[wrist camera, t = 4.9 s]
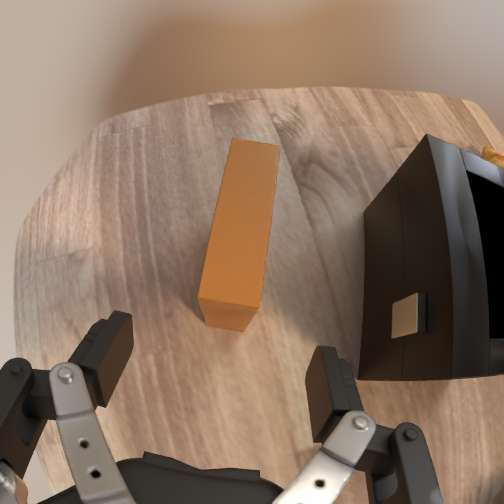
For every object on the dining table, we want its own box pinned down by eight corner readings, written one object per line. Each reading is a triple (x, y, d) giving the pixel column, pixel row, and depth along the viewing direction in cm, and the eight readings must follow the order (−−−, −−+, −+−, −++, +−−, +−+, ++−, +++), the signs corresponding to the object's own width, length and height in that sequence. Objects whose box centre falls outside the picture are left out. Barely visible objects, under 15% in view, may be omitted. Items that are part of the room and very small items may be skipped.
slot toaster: (447, 232, 29) (517, 177, 18) (451, 379, 24) (546, 367, 12) (356, 209, 29) (417, 129, 18) (348, 379, 23) (440, 380, 12)
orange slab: (260, 218, 28) (280, 145, 18) (243, 331, 24) (259, 308, 15) (227, 213, 27) (232, 137, 18) (206, 325, 24) (196, 297, 14)
